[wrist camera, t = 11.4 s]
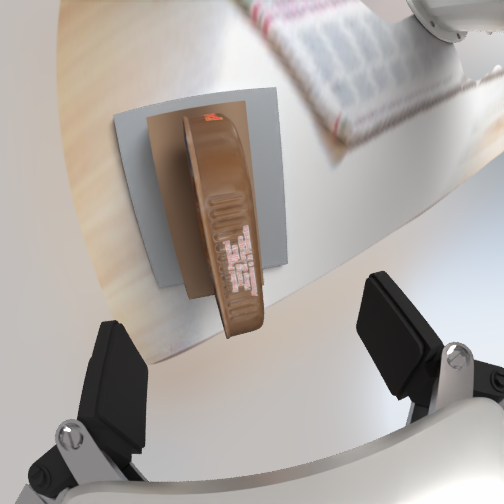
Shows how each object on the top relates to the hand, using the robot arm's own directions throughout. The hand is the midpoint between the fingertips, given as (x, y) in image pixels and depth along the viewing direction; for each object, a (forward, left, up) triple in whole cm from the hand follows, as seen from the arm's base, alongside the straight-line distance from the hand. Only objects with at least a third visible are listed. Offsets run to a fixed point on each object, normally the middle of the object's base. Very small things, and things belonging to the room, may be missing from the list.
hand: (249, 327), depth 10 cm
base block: (+1, 0, -17) cm, 17 cm away
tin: (0, 0, -13) cm, 13 cm away
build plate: (+1, 0, -18) cm, 18 cm away
